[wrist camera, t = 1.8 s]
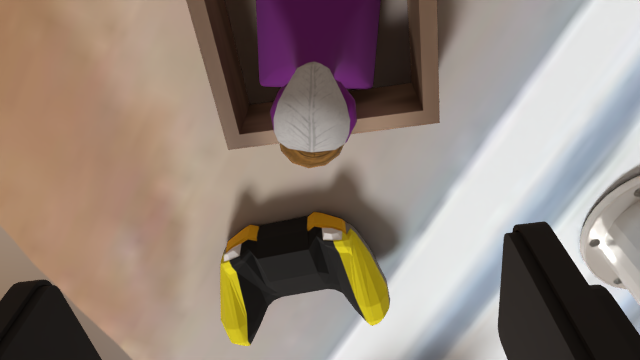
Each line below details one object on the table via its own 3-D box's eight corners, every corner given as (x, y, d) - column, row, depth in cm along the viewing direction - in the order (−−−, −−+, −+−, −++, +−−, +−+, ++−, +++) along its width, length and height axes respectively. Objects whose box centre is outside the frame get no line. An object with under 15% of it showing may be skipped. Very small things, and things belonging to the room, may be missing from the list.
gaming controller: (388, 282, 45) (367, 196, 40) (395, 328, 41) (373, 237, 36) (237, 309, 47) (200, 230, 42) (228, 355, 43) (184, 273, 38)
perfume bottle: (369, 72, 35) (402, 224, 19) (264, 69, 35) (215, 218, 19) (378, -42, 31) (430, 35, 15) (260, -45, 31) (195, 28, 15)
